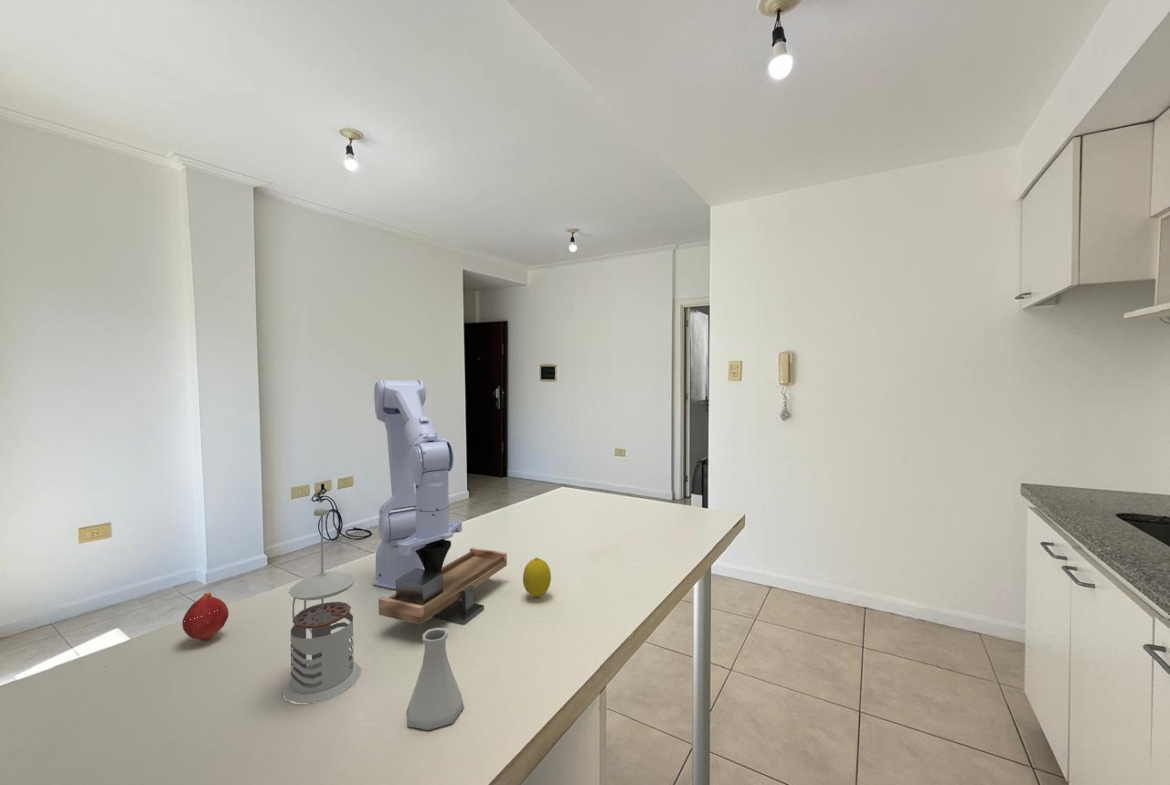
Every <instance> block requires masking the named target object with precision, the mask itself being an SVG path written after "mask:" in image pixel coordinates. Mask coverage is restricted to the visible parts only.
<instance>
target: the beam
mask: <svg viewBox="0 0 1170 785" xmlns="http://www.w3.org/2000/svg"><path fill="white" fill-rule="evenodd" d="M507 557H508V555H507V552H503V551H497V550H490V549H484V548H477V547H471V548H469V551H468V552H467V553H465V554H463V555H461V556H460V557H458V558H456V559H455V560H453V561H451V562H449V563H447V564H445V565H444V566H442V569H441V573H442V574H443V593H441V594H440V595H438V596H436V597H435V598H433V599H432V600H430V601H428V602H427V603H425V604H424V605H422V606H421V605H417V604H412V603H408V602H403V601H399V600H396V592H395V593H394V594H392V595H390V596H388V597H384V596H381V597H380V598H378V615H379V616H383V617H387V618H391V619H396V620H399V621H404V622H407V623H412V624H415V625H419V626H421V625H422V624H424V623H425V622H427V621H428V620H430V619H431V618H433V617H432V616H434V615H435V614H437V613H438V612H440V611H441V610H443V609H444V608H446V607H447V606H448V605H450V604H451V603H453V602H454V601H456V600H460V599H461V590H463V589H464V588H466V587H467V586H469V585H471V586H474V589H475V588H476V587H478V586H479V585H480V584H482V583H484V582H485V581H487V580H488V579H490V577H492V576H494V575H495V574H496V573H498V572H499V571H501V570H502V569H504V568H505V567H507V565H508V558H507Z"/></svg>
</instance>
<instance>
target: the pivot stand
mask: <svg viewBox="0 0 1170 785" xmlns="http://www.w3.org/2000/svg"><path fill="white" fill-rule="evenodd" d="M474 590H475V588H474V586H471V585H469V586H467V587H466V588H464V589H463V590H461V600H460V599H457V600H456V601H454V602H453V603H451V604H450V605H448V606H447V607H446V608H444V609H443V610H441V611H440V612H438V613H437V614H435V615H434V616H432V617H431V618H432V619H433V618H434V619H437V620H442V621H447V622H450V623H454V624H460V625H462V626H463V625H464V626H465V625H466V624H467V623H469V622H470V621H471V620H473V618H475V617H476V616H477V615H479V614H480V613H481V612H483V611H485V605H484V604H480V603H475V595H474V594H475V592H474Z"/></svg>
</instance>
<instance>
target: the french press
mask: <svg viewBox="0 0 1170 785" xmlns="http://www.w3.org/2000/svg"><path fill="white" fill-rule="evenodd" d="M329 514H330V509H329V507H328V506H326V505H320V506H317V507H316V508H315V509H314V510H313V515H314V517H315V516H316V517H320V559H321V560H320V561H321V562H320V568H321V570H320V571H319V572H316V573H314V574H311V575H308V576H307V575H306V577H304V578H302V579H300V581H298V582H296V583H295V584H294V585H293V586H291V587H290V588H289V590H288V594H289V595H290V596H291V597H292V598H293V599H292V614H291V615H292V616H291V617H292V624H293V626H292V627H291V629H290V652H291V653H290V679H289V681H288V682H287V683H286V684H285V685H284V686H285V687H283V689H284V690H282V692H283V695H284V696H285V698H286V700H289V701H294V702H296V703H301V704H300V705H303V704H302V703H313V702H317V703H320V701H321V702H324V701H328V700H330V699H333V698H335V697H336V696H338V695H341V694H343V693H344V692H347V690H348V688H349V687H350V686H351V687H352V685H353V684H354V685H355V684H356V683H357V682H358V680H359V679H360V678H361V676H362V674H361V672H362V668H361V666H360V665H359V664H358V663H356V662H355V661H354V639H353V637H354V615H353V614H352V613H351V608H352V607H351V606H350V605H349V603H346V602H344V601H327V602H324V600H325V599H327V598H331V597H334V596H339V595H340V594H342V593H343V592H346V591H347V590H349V589H350V588H351V587H352V586H353V585H354V583H355V578H354V576H352V575H351V574H349V573H346V572H342V571H338V570H337V571H334V570H330V571H324V517H323V516H327V515H329ZM296 600H300V601H303V609H301V611H299V612H298V613H297V614H295V602H296ZM316 600H321V603H319V604H318V603H317V604H316V605H315V604H314V605H311V606H309V607H307V601H316ZM343 619H346V620H348V621H349V623H348V622H346V621H342V622H339V621H341V620H343ZM337 628H341V629H340V630H337V631H335V632H333V633H331V632H332V631H334V630H335V629H337ZM307 630H309V632H310V634H311V638H307ZM307 656H311V659H308V658H307ZM360 675H361V676H360ZM358 678H359V679H358ZM355 682H356V683H355ZM354 685H353V686H354ZM351 687H350V688H351ZM350 688H349V689H350ZM346 689H347V690H346ZM332 697H333V698H332ZM323 700H324V701H323ZM313 704H314V703H313Z"/></svg>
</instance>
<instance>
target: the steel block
mask: <svg viewBox="0 0 1170 785" xmlns="http://www.w3.org/2000/svg"><path fill="white" fill-rule="evenodd" d="M395 586H396V590H395V593H396V600H399V601H403V602H408V603H412V604H417V605H421V606H422V605H424V604H425V603H427V602H428V601H430V600H432V599H433V598H435V597H436V596H438V595H440V594H441V593H443V574H442V573H441V572H435V571H430V570H424V568H423V569H419V568H415V569H413V570H412V571H410V572H408V573H407V574H405V575H403V576H402V577H400V578H398V579H397V580H395Z"/></svg>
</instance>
